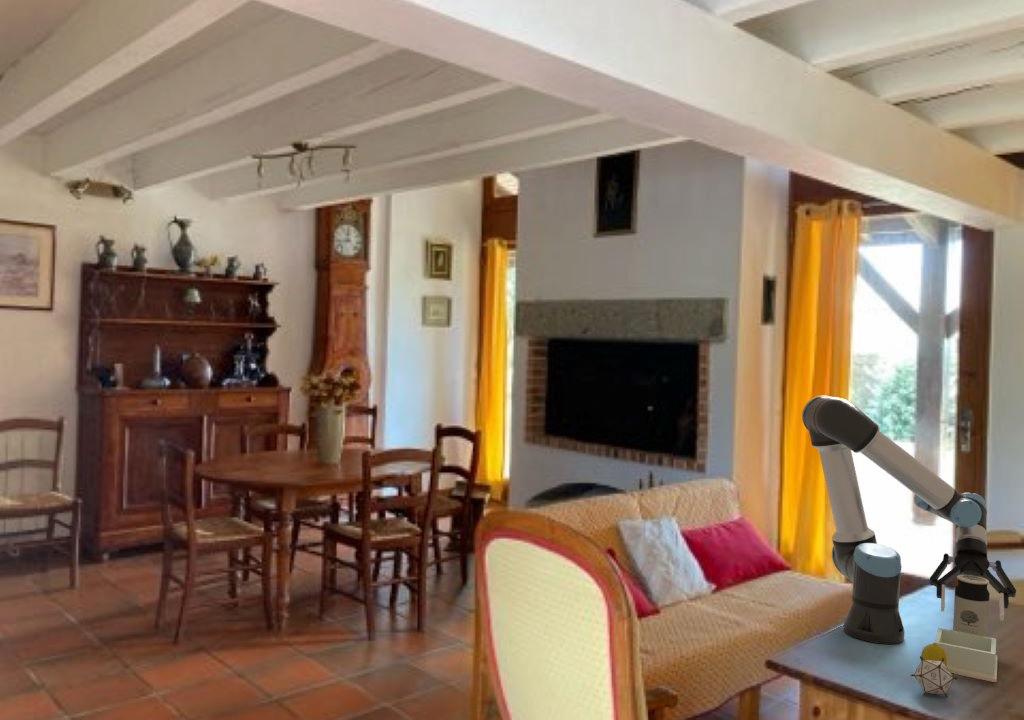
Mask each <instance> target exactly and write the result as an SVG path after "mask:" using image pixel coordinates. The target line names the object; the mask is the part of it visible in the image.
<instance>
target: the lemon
mask: <svg viewBox="0 0 1024 720" xmlns="http://www.w3.org/2000/svg"><path fill="white" fill-rule="evenodd" d="M920 656H921V657H922V658H923V659H924V660H937V661H942V658H944V661H943V662H944V664H945V665H947V657H946V653H945V651H944V650H943V649H942V648H941V647H940V646H939V645H937V644H936V643H935V642H932V643H929V644H927V645H925V646H924V647H923V648H922V650H921V654H920ZM921 661H922V660H921V659H920V662H921Z"/></svg>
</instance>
